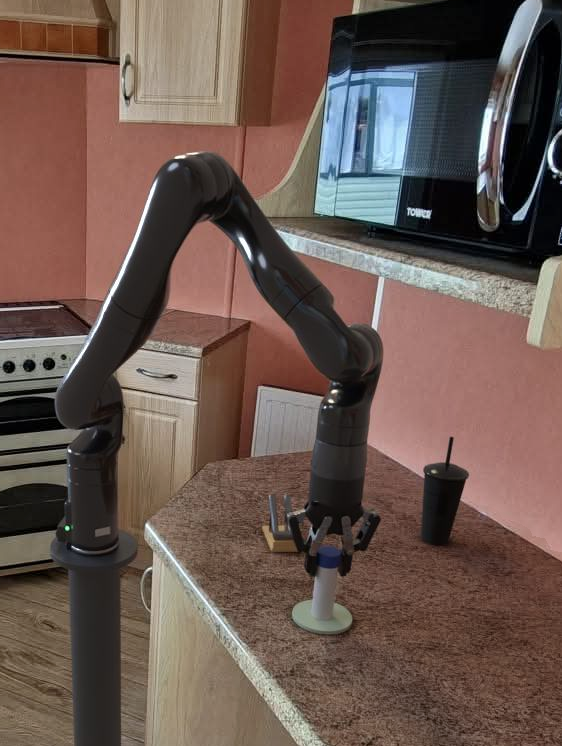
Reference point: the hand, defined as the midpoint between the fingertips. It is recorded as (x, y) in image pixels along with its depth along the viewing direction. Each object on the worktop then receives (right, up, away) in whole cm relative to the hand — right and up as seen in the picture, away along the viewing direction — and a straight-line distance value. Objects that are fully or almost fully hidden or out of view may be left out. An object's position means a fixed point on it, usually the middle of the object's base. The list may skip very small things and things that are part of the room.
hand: (326, 573), depth 119 cm
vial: (0, -3, +5) cm, 6 cm away
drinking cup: (+27, +3, +28) cm, 39 cm away
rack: (-2, +3, +27) cm, 27 cm away
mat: (0, -7, +3) cm, 8 cm away
